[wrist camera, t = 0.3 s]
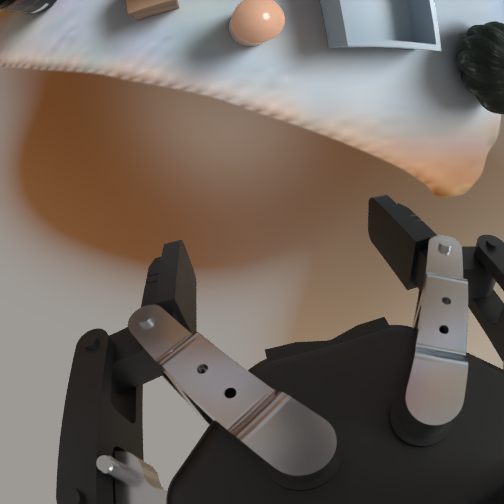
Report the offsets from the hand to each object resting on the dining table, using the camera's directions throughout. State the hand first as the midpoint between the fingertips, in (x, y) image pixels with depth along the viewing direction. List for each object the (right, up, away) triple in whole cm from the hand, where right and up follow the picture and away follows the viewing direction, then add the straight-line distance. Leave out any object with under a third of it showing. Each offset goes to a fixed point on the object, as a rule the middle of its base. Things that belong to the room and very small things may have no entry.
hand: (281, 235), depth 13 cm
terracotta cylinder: (-1, +25, +16) cm, 30 cm away
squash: (+35, +30, +19) cm, 49 cm away
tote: (+13, +33, +13) cm, 38 cm away
